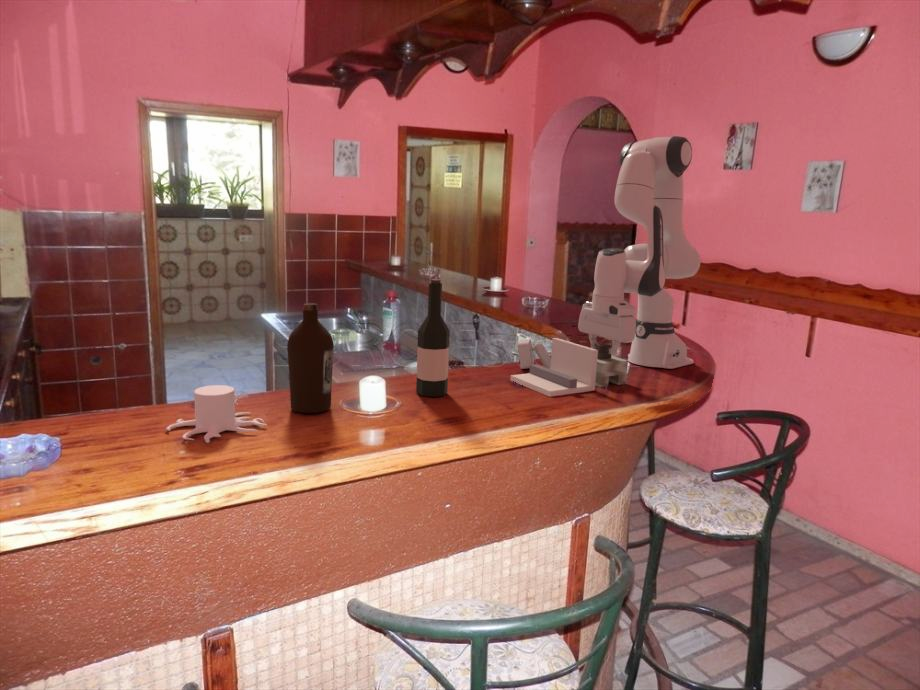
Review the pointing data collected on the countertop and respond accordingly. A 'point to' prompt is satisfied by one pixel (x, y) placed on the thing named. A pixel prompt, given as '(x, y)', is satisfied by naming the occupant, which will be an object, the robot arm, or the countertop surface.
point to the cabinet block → (609, 367)
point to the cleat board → (563, 370)
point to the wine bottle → (433, 347)
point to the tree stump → (216, 412)
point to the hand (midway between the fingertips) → (603, 352)
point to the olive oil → (310, 363)
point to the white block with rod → (527, 354)
